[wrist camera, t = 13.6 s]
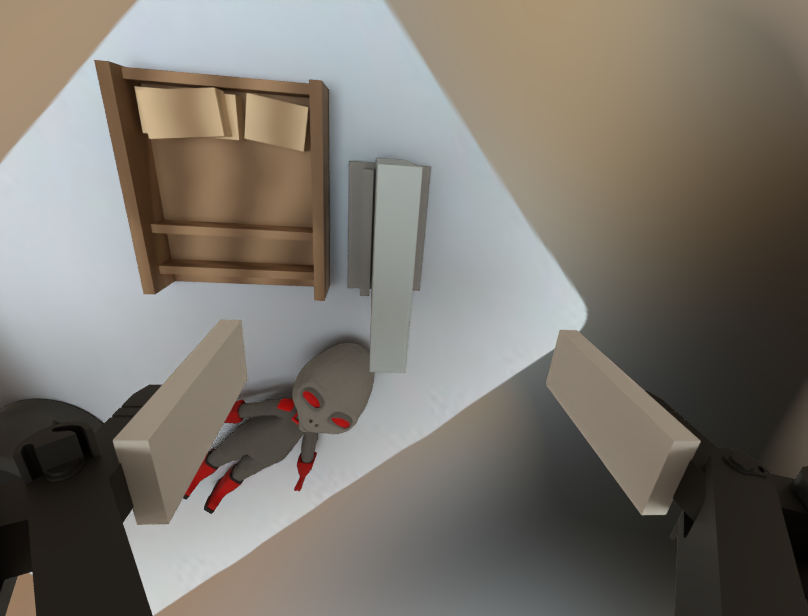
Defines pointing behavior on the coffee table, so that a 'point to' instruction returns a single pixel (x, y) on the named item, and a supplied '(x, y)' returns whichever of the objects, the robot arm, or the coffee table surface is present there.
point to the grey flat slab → (393, 262)
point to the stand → (363, 225)
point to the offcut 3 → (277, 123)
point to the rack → (222, 189)
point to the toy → (292, 420)
